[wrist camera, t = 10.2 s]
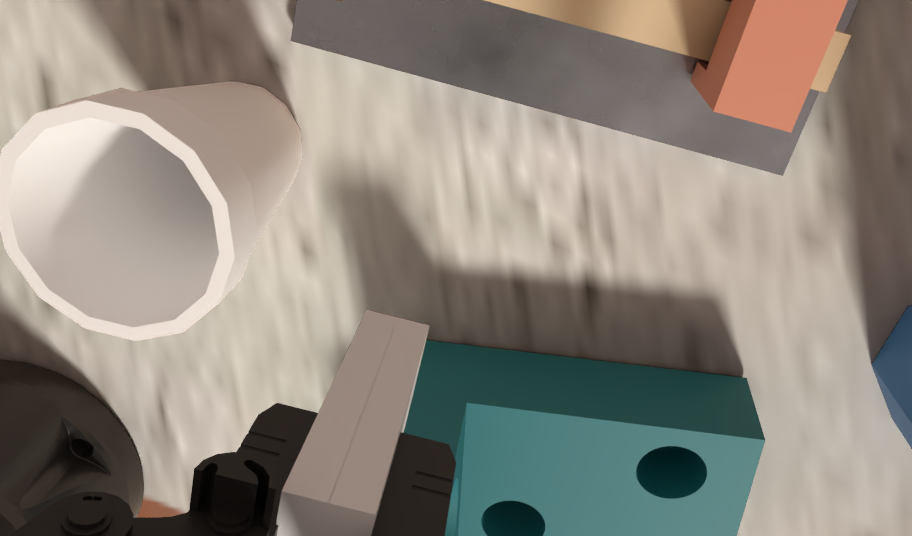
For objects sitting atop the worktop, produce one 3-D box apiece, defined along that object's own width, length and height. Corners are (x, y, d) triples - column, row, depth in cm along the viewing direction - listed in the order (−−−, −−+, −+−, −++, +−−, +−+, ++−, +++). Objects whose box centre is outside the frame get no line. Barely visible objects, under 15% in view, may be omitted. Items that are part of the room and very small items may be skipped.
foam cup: (338, 230, 43) (247, 345, 31) (175, 226, 44) (28, 336, 32) (321, 48, 39) (211, 99, 27) (144, 50, 40) (-35, 100, 28)
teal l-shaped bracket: (410, 483, 49) (371, 629, 40) (414, 338, 44) (370, 468, 35) (706, 524, 48) (735, 686, 39) (746, 378, 42) (790, 524, 33)
